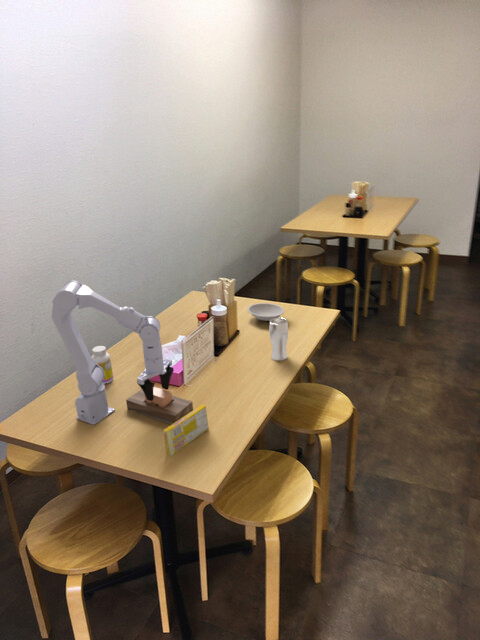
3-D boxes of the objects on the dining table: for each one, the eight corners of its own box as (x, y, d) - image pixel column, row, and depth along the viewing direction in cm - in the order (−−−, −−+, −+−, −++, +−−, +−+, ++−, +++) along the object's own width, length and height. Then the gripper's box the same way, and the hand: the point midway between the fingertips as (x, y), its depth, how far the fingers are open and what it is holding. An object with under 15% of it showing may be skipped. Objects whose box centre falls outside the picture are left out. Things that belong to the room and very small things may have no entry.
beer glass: (288, 353, 207) (288, 317, 201) (288, 361, 200) (287, 324, 195) (270, 353, 208) (269, 317, 202) (269, 361, 201) (268, 324, 195)
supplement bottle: (90, 383, 193) (85, 350, 188) (103, 374, 198) (97, 343, 193) (105, 386, 190) (99, 354, 185) (117, 378, 195) (112, 346, 190)
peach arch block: (165, 414, 170) (163, 398, 168) (146, 408, 174) (143, 391, 172) (173, 408, 173) (171, 392, 171) (154, 402, 177) (152, 386, 175)
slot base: (175, 425, 165) (174, 415, 164) (127, 409, 175) (126, 399, 174) (193, 411, 172) (192, 401, 171) (145, 396, 182) (144, 387, 181)
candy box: (204, 427, 164) (201, 403, 161) (209, 429, 163) (207, 406, 160) (165, 453, 153) (162, 429, 150) (170, 456, 152) (167, 432, 148)
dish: (240, 320, 239) (239, 309, 237) (262, 310, 248) (262, 300, 246) (269, 330, 227) (269, 319, 225) (291, 320, 236) (291, 309, 234)
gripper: (147, 368, 159) (152, 408, 164) (177, 349, 170) (181, 386, 175) (129, 363, 162) (135, 402, 167) (160, 344, 173) (164, 381, 179)
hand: (157, 394), depth 172 cm, fingers open, 7 cm apart
